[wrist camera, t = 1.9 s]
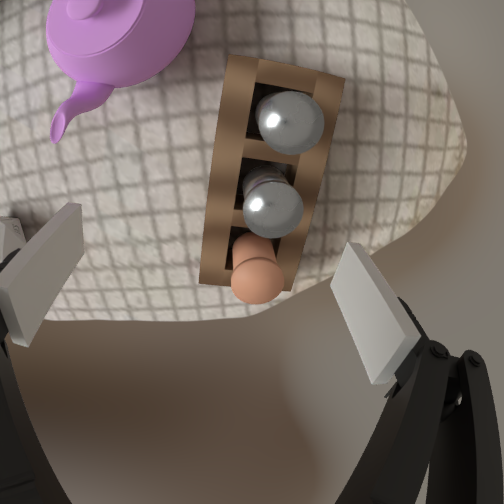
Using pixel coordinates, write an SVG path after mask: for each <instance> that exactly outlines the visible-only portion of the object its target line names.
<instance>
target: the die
mask: <svg viewBox="0 0 504 504" xmlns="http://www.w3.org/2000/svg"><path fill="white" fill-rule="evenodd" d="M26 243H27V242H26V239H25V236H24V233H23V230H22V227H21V223H20V220H19V219H18V218H11V217H9V218H8V217H3V216H0V263H1V262H2V261H3V260H4V259H5V258H6V257H7V255H8V254H10V253H11V252H13V251H14V250H16V249H18V248H20V249H22V248H23V247H24V246H25V245H26Z"/></svg>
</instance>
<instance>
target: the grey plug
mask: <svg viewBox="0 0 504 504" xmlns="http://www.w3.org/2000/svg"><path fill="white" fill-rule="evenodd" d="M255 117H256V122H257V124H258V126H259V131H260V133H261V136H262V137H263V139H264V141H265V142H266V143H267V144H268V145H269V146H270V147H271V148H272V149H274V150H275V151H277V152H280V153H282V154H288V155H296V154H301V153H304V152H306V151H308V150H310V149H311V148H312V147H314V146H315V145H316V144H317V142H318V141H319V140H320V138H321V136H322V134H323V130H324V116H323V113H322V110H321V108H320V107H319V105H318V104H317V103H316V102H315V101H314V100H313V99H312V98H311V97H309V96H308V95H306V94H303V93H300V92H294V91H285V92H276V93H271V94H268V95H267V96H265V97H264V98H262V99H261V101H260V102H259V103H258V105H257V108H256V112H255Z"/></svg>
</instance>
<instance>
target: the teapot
mask: <svg viewBox="0 0 504 504" xmlns="http://www.w3.org/2000/svg"><path fill="white" fill-rule="evenodd" d="M194 18H195V0H53V2H52V4H51V6H50V9H49V12H48V16H47V22H46V36H47V43H48V47H49V51H50V53H51V55H52V58H53V59H54V61H55V63H56V64H57V65H58V66H59V68H60V69H61V70H62V71H63V72H64V73H65V74H67V75H68V76H69V77H71V78H73V79H74V80H76V81H77V82H76V85H75V88H74V91H73V93H72V95H71V97H70V98H69V99H67V100H66V101H64V102H63V103H62V104H61V105H60V107H59V108H58V110H57V112H56V113H55V115H54V118H53V120H52V124H51V129H50V139H51V142H52V143H57V142H59V140H60V139H61V138H62V136H63V134H64V132H65V130H66V128H67V126H68V124H69V122H70V121H71V120H72V119H73V118H74V117H75V116H77V115H79V114H81V113H84V112H88V111H91V110H93V109H96V108H97V107H99V106H101V105H102V104H103V103H104V102H105V101H106V100H107V99H108V97H109V96H110V94H111V93H112V91H113V90H114V88H122V87H127V86H131V85H135V84H138V83H140V82H143V81H145V80H147V79H149V78H151V77H153V76H154V75H156V74H157V73H159V72H160V71H161V70H163V69H164V68H165V67H166V66H167V65H169V64H170V63H171V62H172V60H173V59H174V58H175V57H176V56H177V55H178V53H179V52H180V51H181V50H182V48H183V46H184V45H185V43H186V41H187V40H188V37H189V35H190V33H191V30H192V27H193V23H194Z"/></svg>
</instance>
